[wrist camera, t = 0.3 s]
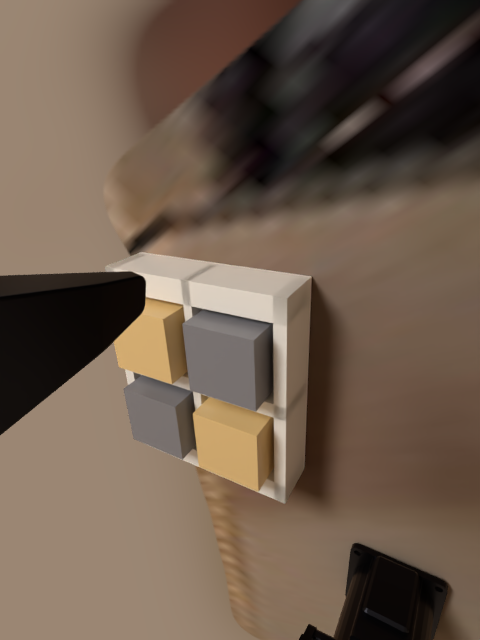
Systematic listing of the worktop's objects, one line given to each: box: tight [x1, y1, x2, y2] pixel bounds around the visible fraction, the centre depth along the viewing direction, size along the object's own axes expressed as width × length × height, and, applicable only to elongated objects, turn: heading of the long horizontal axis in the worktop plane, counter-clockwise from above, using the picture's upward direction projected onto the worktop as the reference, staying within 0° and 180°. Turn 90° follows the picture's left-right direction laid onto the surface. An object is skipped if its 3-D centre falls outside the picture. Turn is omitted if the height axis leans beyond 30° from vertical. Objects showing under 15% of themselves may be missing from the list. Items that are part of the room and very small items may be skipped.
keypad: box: [105, 252, 312, 504], centre depth 28 cm, size 15×13×4 cm
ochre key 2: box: [193, 397, 274, 492], centre depth 27 cm, size 5×5×3 cm
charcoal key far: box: [124, 375, 196, 460], centre depth 30 cm, size 5×5×3 cm
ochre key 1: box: [114, 297, 188, 384], centre depth 27 cm, size 5×5×3 cm
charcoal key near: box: [182, 309, 274, 412], centre depth 24 cm, size 5×5×3 cm
